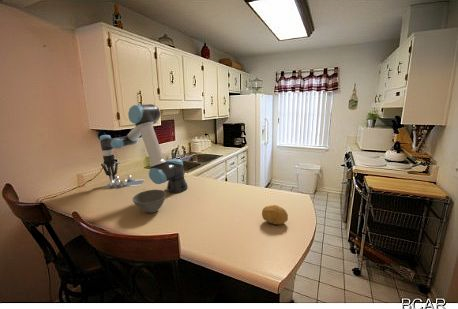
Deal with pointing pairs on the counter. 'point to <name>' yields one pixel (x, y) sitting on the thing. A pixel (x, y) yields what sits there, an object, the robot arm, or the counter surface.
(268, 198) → the counter surface
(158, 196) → the bowl
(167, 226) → the counter surface
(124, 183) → the spacers
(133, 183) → the mat
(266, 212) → the potato
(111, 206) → the counter surface
